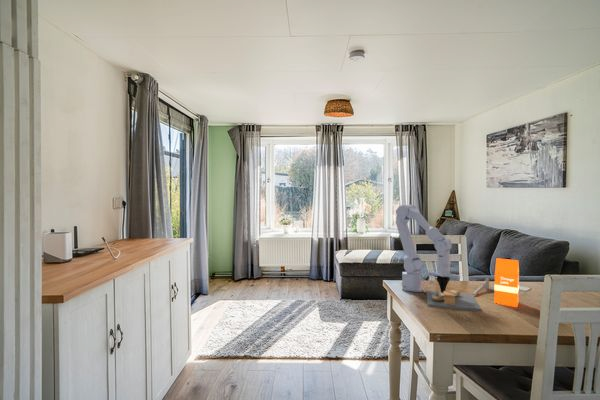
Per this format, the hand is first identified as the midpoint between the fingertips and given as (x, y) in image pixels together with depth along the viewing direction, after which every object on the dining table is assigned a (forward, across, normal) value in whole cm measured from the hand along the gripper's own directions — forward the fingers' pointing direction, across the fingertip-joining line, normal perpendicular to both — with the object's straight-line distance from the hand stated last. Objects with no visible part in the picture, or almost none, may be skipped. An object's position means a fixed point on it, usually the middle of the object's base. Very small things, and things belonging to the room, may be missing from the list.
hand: (443, 292), depth 159 cm
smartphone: (+3, +26, +39) cm, 47 cm away
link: (+1, +3, -5) cm, 5 cm away
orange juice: (+2, +25, +8) cm, 27 cm away
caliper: (+3, +13, +19) cm, 23 cm away
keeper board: (+2, +5, -5) cm, 7 cm away
